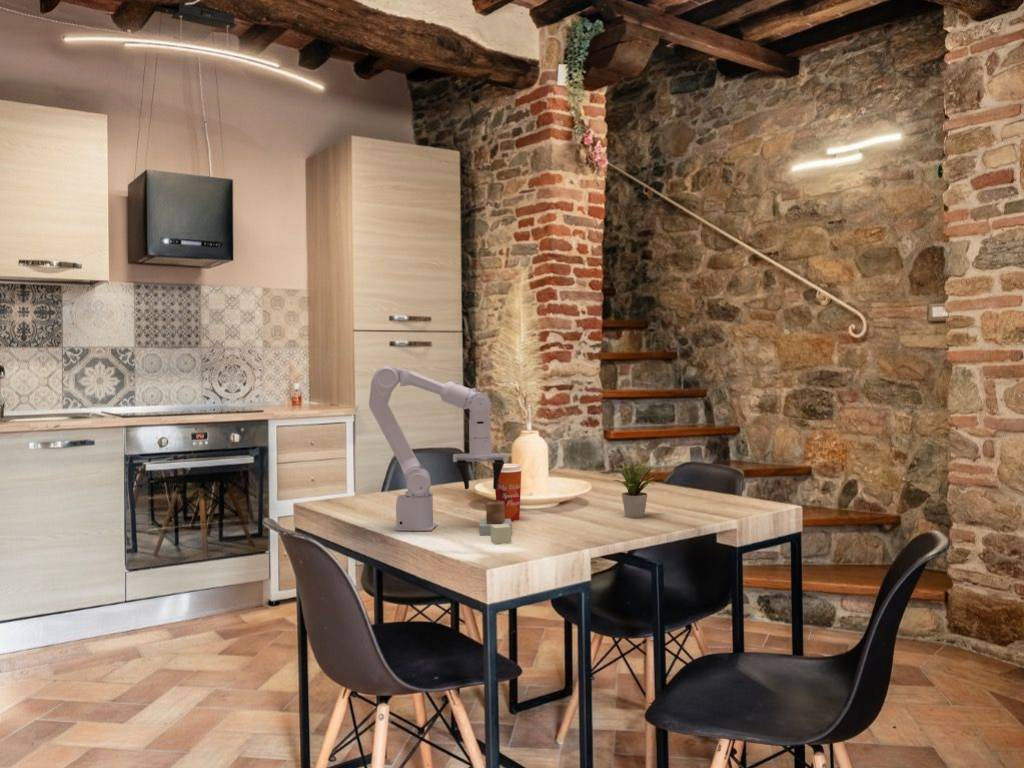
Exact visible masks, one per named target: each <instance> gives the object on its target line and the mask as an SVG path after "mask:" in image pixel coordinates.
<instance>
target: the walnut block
mask: <svg viewBox="0 0 1024 768" xmlns="http://www.w3.org/2000/svg"><path fill="white" fill-rule="evenodd" d="M485 511H486V513H485V514H486V515H485V516H486V518H485V520H486V519H487V524H503V522H504V521H505V512H504V502H496V501H488V502H487V503H486V504H485Z"/></svg>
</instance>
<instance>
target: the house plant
mask: <svg viewBox="0 0 1024 768" xmlns="http://www.w3.org/2000/svg"><path fill="white" fill-rule="evenodd" d="M629 458H630V460H629V461H630V463H627V465H628V466H629V467H627V466H626V464H625V463H624V462H620V464H621V467H622V468H620V469H619V468H618V467H616V466H613V467H614V468H615V469H617V471H618V472H619V473H620V474H621V476H622V477H623V479H624V480H623V481H621V480H619V479H613V480H611V481H610V482H617V483H620V484H622V485H623V486H624V487H625V488H626V489H627V491H626V492H622V493H621V497H622V504H623V508H624V509H623V510H624V515H625V517H626V518H630V519H641V517H642V518H645V513H646V506H647V502H648V501H647V499H648V493H647V492H643V489H645V487H647V486H648V485H649V484H651V485H653V486H654V487H656V485H655V481H651V480H652V479H654V477H652V478H649V479H647V480H646V479H645V478H646V477H647V475H650V474H654V473H656V471H652V470H653V469H655V467H658V466H659V465H661V464H655V465H650V466H649V467H646V468H645V469H644V466H645V464H646V462H643V458H641V459H640V460H639V463H638V465H637V467H636V469H635V466H634V463H633V459H632V458H631V457H629ZM650 471H651V472H650Z"/></svg>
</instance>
